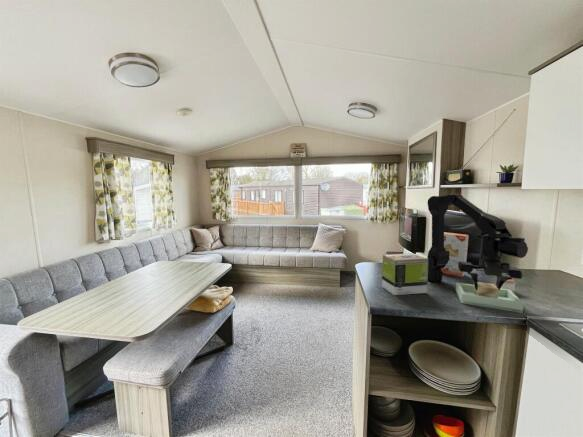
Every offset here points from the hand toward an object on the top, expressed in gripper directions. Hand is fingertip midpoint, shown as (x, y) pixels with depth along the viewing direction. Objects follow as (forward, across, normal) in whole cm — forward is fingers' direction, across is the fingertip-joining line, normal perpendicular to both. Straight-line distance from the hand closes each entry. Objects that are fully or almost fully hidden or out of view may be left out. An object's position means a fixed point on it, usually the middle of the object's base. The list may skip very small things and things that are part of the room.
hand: (486, 291), depth 98 cm
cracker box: (+4, -9, +33) cm, 34 cm away
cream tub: (+4, +10, +16) cm, 19 cm away
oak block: (+3, 0, 0) cm, 3 cm away
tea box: (+4, -29, -3) cm, 29 cm away
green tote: (+4, 0, 0) cm, 4 cm away
